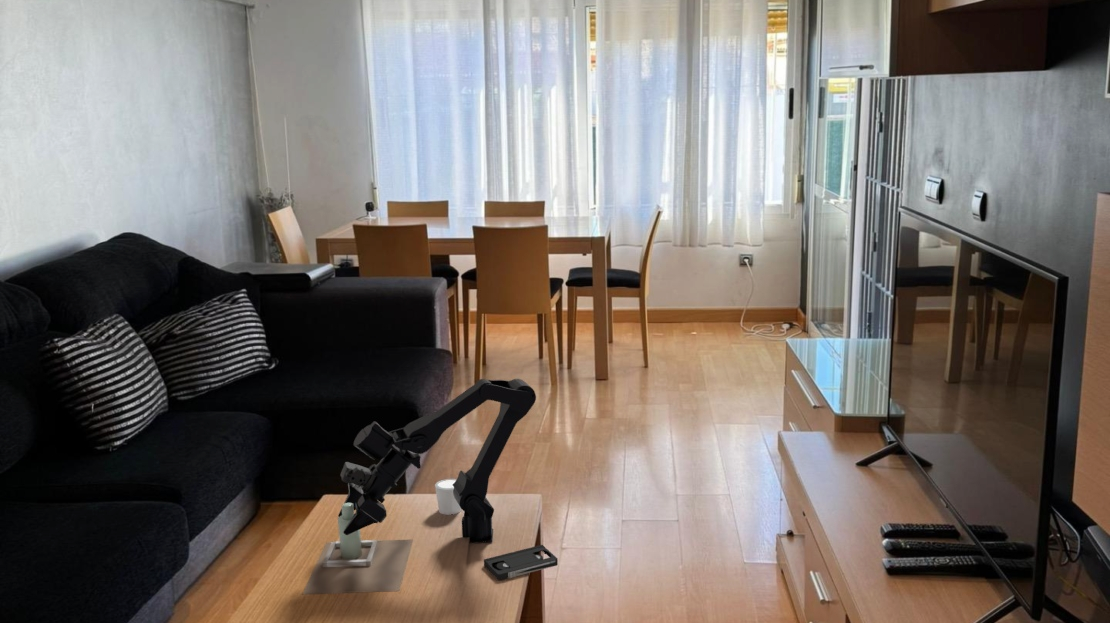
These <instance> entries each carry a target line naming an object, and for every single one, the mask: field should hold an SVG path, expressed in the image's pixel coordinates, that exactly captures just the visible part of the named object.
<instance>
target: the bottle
mask: <svg viewBox="0 0 1110 623" xmlns="http://www.w3.org/2000/svg"><path fill="white" fill-rule="evenodd" d="M341 508H342V515H341V516H340V517H339V516H337V524H338V536H339V537H338V538H339V541H340V551H341V558H342V559H344V560H354V559H357V558H359V557H361V555H362V549H361V541H362V539H361V529H359V530H357V531H355V532H353V533H351V534H349V535H345V534H344V533H343V531H344V530H345V528H346V526H347V525H348V523H349V522H350V520H351V519H352V517H353V516H354V514H355V510H354V505H353V503H344V502H343V504H341Z"/></svg>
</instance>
